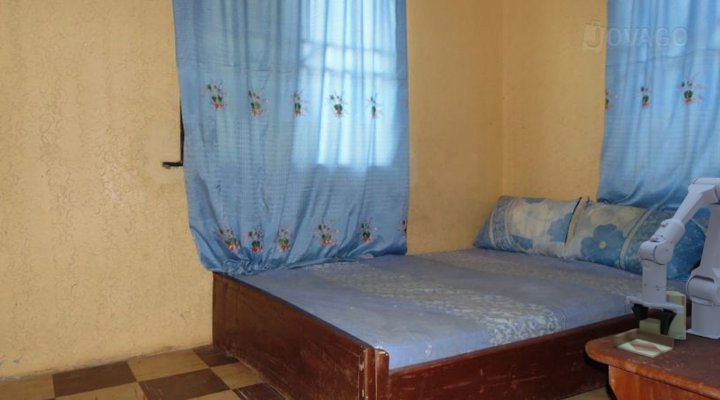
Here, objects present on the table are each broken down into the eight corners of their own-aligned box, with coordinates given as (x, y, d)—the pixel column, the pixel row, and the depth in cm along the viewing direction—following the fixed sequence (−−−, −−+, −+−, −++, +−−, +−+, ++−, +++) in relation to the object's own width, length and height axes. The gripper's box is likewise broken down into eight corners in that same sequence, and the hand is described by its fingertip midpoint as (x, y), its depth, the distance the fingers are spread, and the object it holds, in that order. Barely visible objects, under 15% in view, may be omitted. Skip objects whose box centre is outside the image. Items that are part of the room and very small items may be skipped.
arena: (635, 338, 148) (635, 328, 147) (673, 348, 139) (674, 337, 139) (613, 347, 141) (613, 335, 141) (652, 357, 133) (652, 345, 133)
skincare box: (686, 340, 146) (687, 296, 145) (669, 339, 147) (669, 295, 146) (677, 333, 152) (678, 290, 152) (660, 332, 153) (661, 290, 152)
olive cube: (648, 335, 151) (648, 317, 150) (667, 339, 147) (667, 321, 146) (639, 338, 148) (639, 320, 148) (658, 343, 144) (658, 325, 143)
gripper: (620, 282, 150) (619, 330, 151) (675, 292, 138) (674, 343, 139) (633, 279, 154) (633, 326, 155) (688, 288, 142) (686, 338, 143)
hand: (653, 334), depth 147 cm, fingers closed on olive cube, 5 cm apart
